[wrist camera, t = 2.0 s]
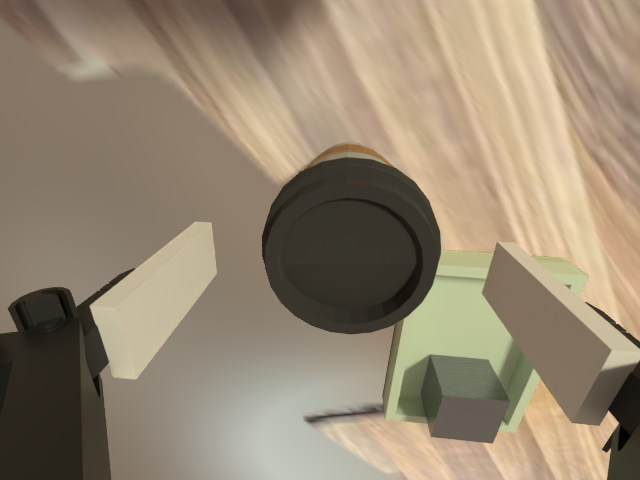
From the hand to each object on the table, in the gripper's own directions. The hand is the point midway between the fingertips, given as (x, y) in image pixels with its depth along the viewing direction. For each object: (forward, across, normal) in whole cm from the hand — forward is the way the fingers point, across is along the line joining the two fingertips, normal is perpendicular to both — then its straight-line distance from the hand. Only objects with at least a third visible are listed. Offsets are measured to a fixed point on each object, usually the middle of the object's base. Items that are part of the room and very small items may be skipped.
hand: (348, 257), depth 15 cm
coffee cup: (+14, 0, 0) cm, 14 cm away
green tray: (+14, +13, -16) cm, 24 cm away
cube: (+13, +13, -20) cm, 28 cm away
